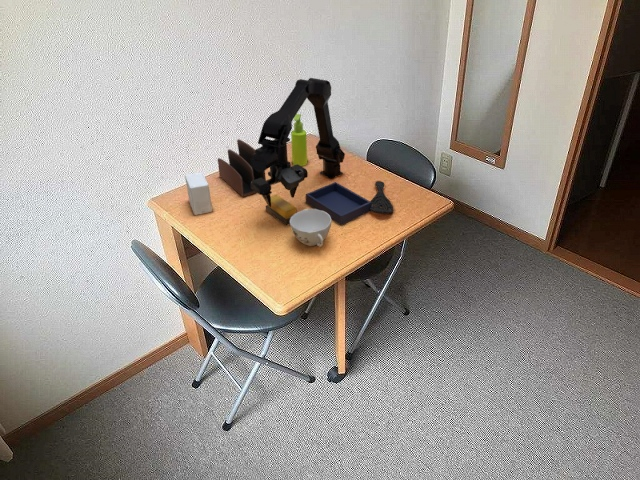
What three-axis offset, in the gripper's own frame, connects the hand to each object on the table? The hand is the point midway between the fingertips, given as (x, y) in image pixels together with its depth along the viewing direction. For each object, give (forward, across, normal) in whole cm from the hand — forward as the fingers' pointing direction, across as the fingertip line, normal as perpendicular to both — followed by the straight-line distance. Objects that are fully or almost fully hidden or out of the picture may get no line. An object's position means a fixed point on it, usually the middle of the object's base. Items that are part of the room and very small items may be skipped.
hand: (281, 201), depth 160 cm
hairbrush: (+6, +32, -14) cm, 36 cm away
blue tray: (+5, +18, -8) cm, 20 cm away
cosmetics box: (+5, -18, +23) cm, 30 cm away
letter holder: (+6, +2, +28) cm, 29 cm away
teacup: (+6, -2, -19) cm, 20 cm away
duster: (+5, 0, 0) cm, 5 cm away
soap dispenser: (+6, +28, +27) cm, 39 cm away
